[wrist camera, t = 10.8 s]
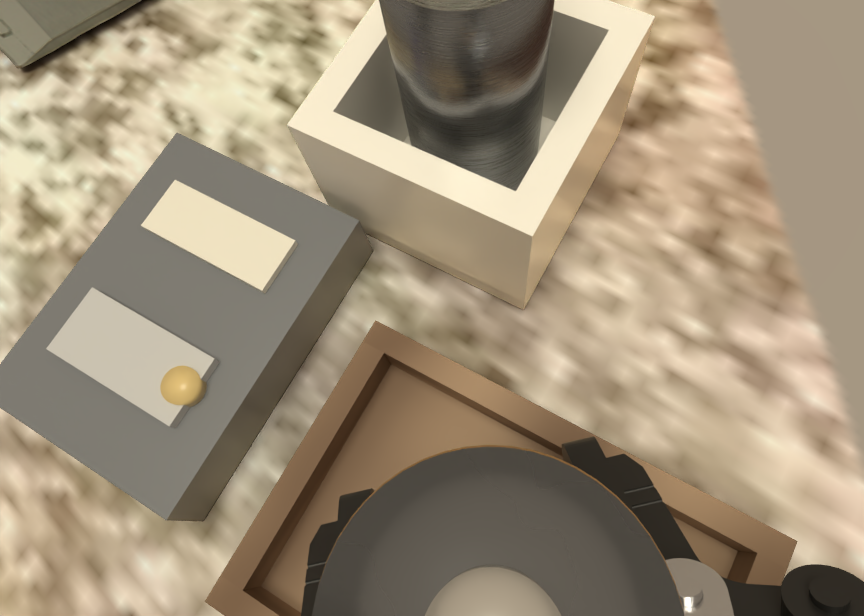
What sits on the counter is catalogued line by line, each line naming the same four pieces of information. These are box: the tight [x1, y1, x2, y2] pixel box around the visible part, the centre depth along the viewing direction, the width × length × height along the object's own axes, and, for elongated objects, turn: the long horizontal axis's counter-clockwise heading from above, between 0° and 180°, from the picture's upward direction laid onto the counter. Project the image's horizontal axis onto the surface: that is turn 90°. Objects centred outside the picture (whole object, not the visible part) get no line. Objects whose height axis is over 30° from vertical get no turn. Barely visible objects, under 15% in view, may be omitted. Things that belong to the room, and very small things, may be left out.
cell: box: [312, 445, 685, 616], centre depth 12 cm, size 4×4×12 cm
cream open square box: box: [287, 0, 655, 310], centre depth 21 cm, size 8×8×6 cm
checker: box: [0, 133, 373, 521], centre depth 22 cm, size 8×11×3 cm
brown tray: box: [205, 321, 797, 616], centre depth 19 cm, size 14×10×2 cm
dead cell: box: [379, 0, 555, 191], centre depth 18 cm, size 4×4×12 cm
